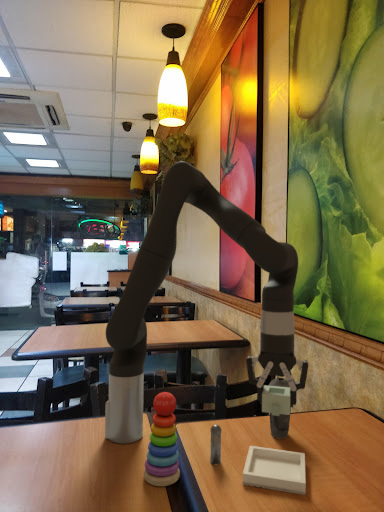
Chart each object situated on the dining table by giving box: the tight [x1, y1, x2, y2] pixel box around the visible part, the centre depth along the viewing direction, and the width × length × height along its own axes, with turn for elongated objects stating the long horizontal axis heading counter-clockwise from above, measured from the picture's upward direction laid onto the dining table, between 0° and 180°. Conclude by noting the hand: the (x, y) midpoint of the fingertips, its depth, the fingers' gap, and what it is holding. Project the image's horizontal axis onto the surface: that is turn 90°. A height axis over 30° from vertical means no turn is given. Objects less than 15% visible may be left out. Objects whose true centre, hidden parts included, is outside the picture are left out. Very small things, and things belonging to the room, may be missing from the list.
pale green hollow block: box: [261, 384, 291, 416], centre depth 89 cm, size 7×6×4 cm
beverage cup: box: [268, 375, 292, 440], centre depth 109 cm, size 7×7×20 cm
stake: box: [210, 424, 222, 465], centre depth 95 cm, size 3×3×9 cm
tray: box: [242, 445, 307, 496], centre depth 90 cm, size 13×13×2 cm
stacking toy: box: [143, 391, 181, 487], centre depth 88 cm, size 8×8×19 cm
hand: (276, 404), depth 90 cm, fingers closed on pale green hollow block, 6 cm apart
